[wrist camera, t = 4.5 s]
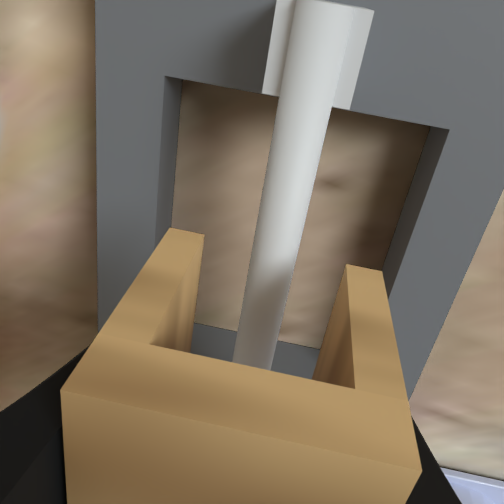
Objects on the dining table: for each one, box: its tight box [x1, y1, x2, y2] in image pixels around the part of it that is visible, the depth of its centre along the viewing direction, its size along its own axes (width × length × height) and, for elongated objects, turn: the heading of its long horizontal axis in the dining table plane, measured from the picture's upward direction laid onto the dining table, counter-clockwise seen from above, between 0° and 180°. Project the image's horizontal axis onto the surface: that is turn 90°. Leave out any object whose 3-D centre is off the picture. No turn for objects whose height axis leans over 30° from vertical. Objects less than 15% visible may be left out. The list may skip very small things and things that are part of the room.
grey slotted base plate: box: [95, 0, 504, 401], centre depth 15 cm, size 20×12×5 cm, turn 171°
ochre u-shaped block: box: [60, 228, 422, 504], centre depth 10 cm, size 5×5×5 cm
